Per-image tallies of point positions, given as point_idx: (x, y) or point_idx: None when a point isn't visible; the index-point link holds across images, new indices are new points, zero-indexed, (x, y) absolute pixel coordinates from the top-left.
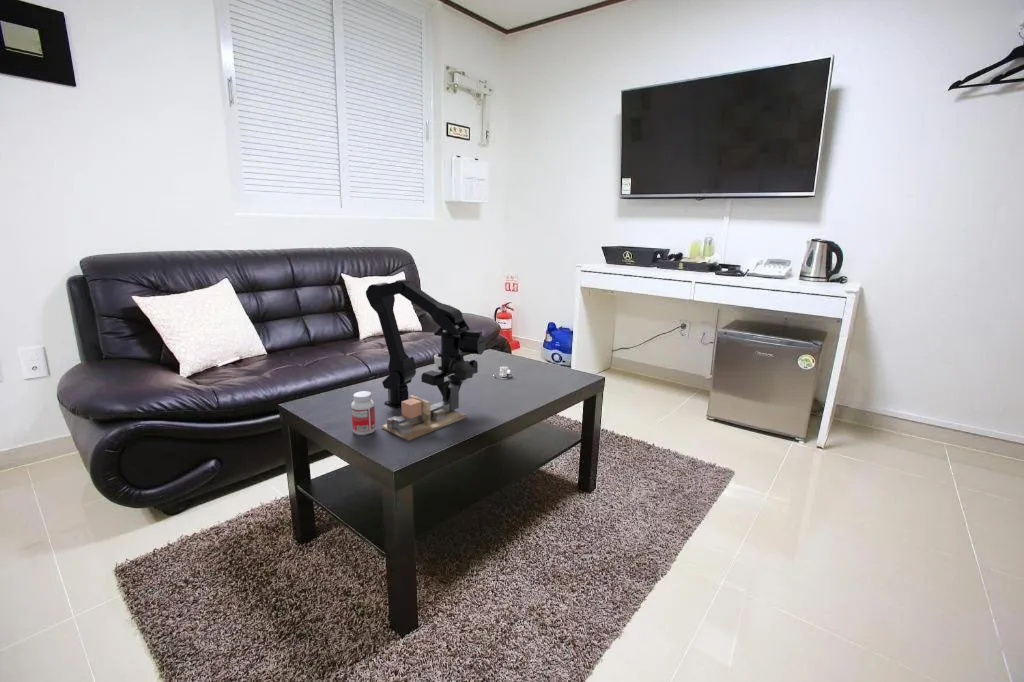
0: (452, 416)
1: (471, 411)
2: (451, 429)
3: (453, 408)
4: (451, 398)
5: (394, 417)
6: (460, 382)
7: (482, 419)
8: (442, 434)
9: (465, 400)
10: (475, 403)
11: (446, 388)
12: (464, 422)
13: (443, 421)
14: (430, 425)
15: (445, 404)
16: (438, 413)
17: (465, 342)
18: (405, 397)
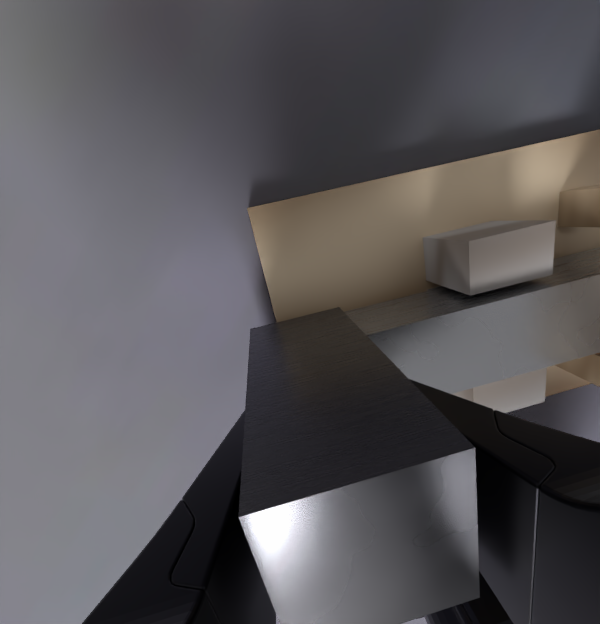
0: (356, 241)
1: (151, 287)
2: (464, 68)
3: (309, 319)
4: (365, 353)
5: None
6: (156, 607)
7: (144, 74)
8: (563, 31)
9: (97, 478)
10: (47, 404)
11: (561, 448)
12: (312, 124)
13: (460, 195)
14: (563, 187)
15: (410, 332)
16: (532, 224)
17: None
18: (480, 581)
